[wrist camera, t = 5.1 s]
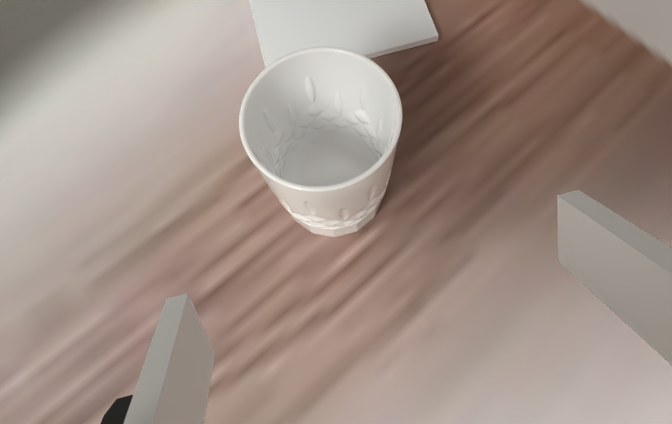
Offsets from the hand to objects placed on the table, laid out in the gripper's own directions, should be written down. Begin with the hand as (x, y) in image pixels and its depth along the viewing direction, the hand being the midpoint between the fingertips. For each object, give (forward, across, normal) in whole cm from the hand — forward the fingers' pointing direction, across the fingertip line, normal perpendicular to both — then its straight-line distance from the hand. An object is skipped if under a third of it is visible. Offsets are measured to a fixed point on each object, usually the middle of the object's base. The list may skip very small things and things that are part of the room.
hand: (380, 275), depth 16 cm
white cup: (+16, 0, -3) cm, 16 cm away
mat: (+27, +4, +8) cm, 28 cm away
